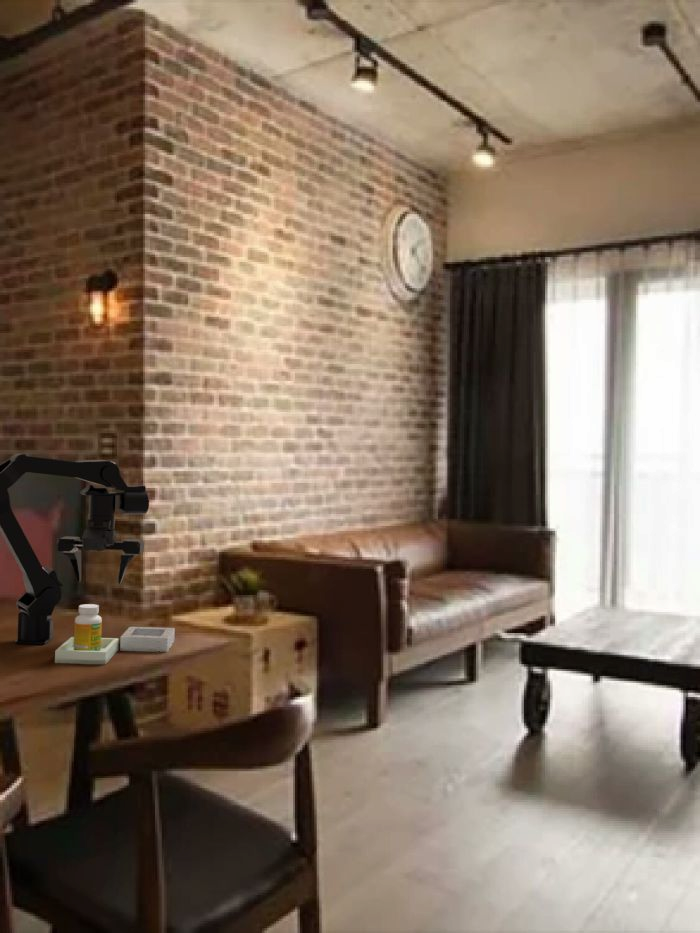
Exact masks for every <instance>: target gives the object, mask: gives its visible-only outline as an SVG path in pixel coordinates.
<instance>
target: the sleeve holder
mask: <svg viewBox="0 0 700 933" xmlns="http://www.w3.org/2000/svg"><path fill="white" fill-rule="evenodd" d="M175 632H176V630H175V627H154V626H129V627H128V628H127V629H126V630H125V631H124V632H123V633H122V635H120V639H119V640H120V641H119V644H120V646H119V648H120V649H119V650H120V652H121V651H123V652H149V653H150V652H152V653H153V652H154V653H168V652H169V650H170V649H169V648H171V647H172V646H173V644H174V643H175V635H176V634H175ZM172 643H173V644H172ZM159 651H160V652H159Z"/></svg>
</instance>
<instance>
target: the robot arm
mask: <svg viewBox="0 0 700 933" xmlns="http://www.w3.org/2000/svg"><path fill="white" fill-rule="evenodd" d="M26 473H30V474H31V473H32V474H42V475H50V476H59V477H67V478H75V479H78V480H81V481H85V482H86V483H87V482H88V483H91V484H87V485H86V487H84V488H83V489H82V490H81V491H80V492H79V493H80V494H81V495H83V496H89V502H88V503H89V508H88V520H87V527H86V529H85V531H84V532H83V534H82V536H81V537H80V536H63V537H60V538H58V539H57V541H56V545H55V549H56V551H57V552H62V553H61V554H62V556H66V557H67V558H68V559H69V561H70V563H71V566H72V569H73V572H74V574H75V577H76V581H77V583H81V582H82V550H83V551H84V552H85V551H86V552H87V551H88V552H89V551H96V552H103V551H105V550H114V551H115V550H117V551H122V552H123V553H122V554H120V565H119V572H118V585H121V583H122V582H123V579H124V577H125V574H126V572H127V569H128V567H129V564H130V563H131V561H132V559H133V558H135V557H136V556H139V555H140V554H142V553H143V552H144V551H145V542H144V540H143V539H142V538H141V539H140V538H126V539H124V540H122V541H117V534H116V533H117V532H116V530H115V524H116V510H117V511H118V513H119V514H120V515H146V514H147V513H148V511H149V509H150V500H149V495H148V492H147V491H146V487H147V486H146V485H143V484H141V485H127V484H126V482H125V480H124V479H123V478H122V476H121V475H120V474H121V472H120V467H119V466H118V464H117V463H116V462H114V461H111V460H106V459H105V460H104V459H88V460H87V459H85V460H75V461H73V460H67V459H65V460H64V459H57V458H49V457H41V456H35V455H34V456H32V455H29V454H25V453H15V454H13V455H11V457H9V458H8V459H7V460H5V461H4V462H2V463H1V464H0V534H1V536H2V538H3V539H4V541H5V543H6V545H7V547H8V549H9V551H10V553H11V554H12V556H13V558H14V559H15V562H16V563H17V565H18V567H19V569H20V571H21V574H22V579H23V585H24V588H25V593H23V594H22V595H21V596H20V597H19V598H18V599H17V600H16V601H15V603H16V606H17V609H18V611H19V613H18V614H17V638H16V640H14V644H27V645H29V644H30V645H31V644H32V645H33V644H34V645H45V644H47V643H48V642H49V641H50V640H52V639H53V638H54V637H53V636H54V619H53V618H52V615H53V612H54V610H55V607H56V606H57V605H58V604H59V602H60V601H61V600H62V597H63V590H62V588H61V587H64V585H63V584H62V583H61V582H60V581H59V578H58V576H57V573H56V570H55V569H52V568H50V567H48V566H44V567H43V565H42V564H41V562H40V560H39V559H38V556H37V555H36V552H35V551H34V549H33V548H32V545H31V543H30V542H29V540H28V538H27V536H26V534H25V532H24V530H23V528H22V526H21V525H20V522H19V521H18V520H17V517H16V515H15V514H14V512H13V509H12V503H11V496H10V494H9V491H8V489H9V488H11V487H12V486H13V485H15V484H16V482H18V481H19V479H21V478H22V476H24V475H25V474H26ZM92 484H94V485H99V486H104V487H95V486H94V485H92ZM110 489H111V490H115V491H116V492H114V491H109V490H110ZM81 539H82V540H81ZM81 549H82V550H81Z"/></svg>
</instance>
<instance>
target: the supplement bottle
mask: <svg viewBox="0 0 700 933" xmlns="http://www.w3.org/2000/svg"><path fill="white" fill-rule="evenodd" d="M99 607H100V605H99V604H93V603H87V604H86V603H85V604H80V605H78V614H79V615H77V616H75V618H74V634H73V637H74V650H83V651H101V638H102V627H103V625H102V623H103V620H102V619H103V618H102V617H101V616H100V615H98V614H99V611H100V610H99V609H100V608H99Z"/></svg>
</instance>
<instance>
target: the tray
mask: <svg viewBox="0 0 700 933" xmlns="http://www.w3.org/2000/svg"><path fill="white" fill-rule="evenodd" d="M119 640H120V639H119V638H116V637H114V638H113V637H101V651H83V650H74V636H71V637H70V638H69V639H67V640H66V641H65V642H63V643H62V644H61V645H60V646H59V647H57V649H55V651H54V653H55V654H54V663H55V664H73V665H74V664H78V665H79V664H80V665H106V664H107V663H108V662H109V661H110V660H111V659H112V657H114V655H115V654H117V652H118V651H119V644H120V641H119Z"/></svg>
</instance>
